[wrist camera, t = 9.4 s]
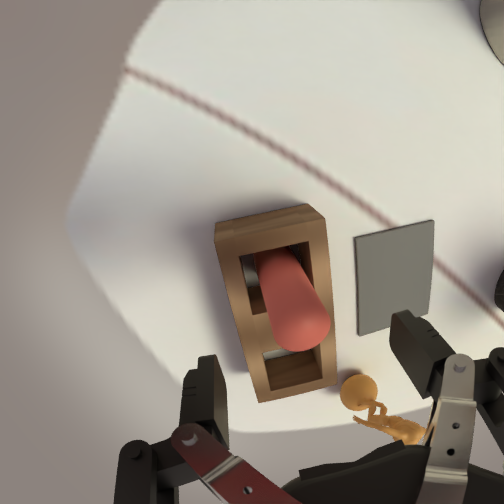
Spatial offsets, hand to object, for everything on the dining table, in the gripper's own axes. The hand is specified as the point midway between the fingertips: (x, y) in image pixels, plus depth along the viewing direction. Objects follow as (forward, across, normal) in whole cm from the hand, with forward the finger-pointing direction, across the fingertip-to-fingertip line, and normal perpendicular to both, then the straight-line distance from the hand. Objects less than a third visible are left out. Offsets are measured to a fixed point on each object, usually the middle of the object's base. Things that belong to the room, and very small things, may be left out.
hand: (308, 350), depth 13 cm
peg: (+12, 0, +1) cm, 12 cm away
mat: (+12, -11, +6) cm, 17 cm away
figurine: (+12, -7, +16) cm, 21 cm away
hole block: (+12, 0, +5) cm, 13 cm away
